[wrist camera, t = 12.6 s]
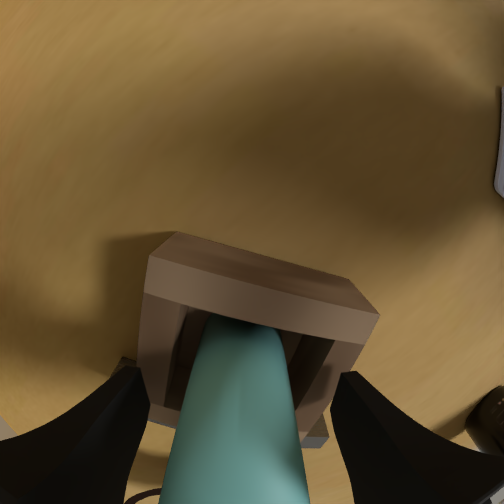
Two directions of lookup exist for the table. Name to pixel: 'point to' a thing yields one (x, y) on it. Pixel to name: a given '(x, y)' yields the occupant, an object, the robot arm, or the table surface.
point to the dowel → (237, 422)
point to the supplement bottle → (488, 423)
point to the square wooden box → (248, 309)
